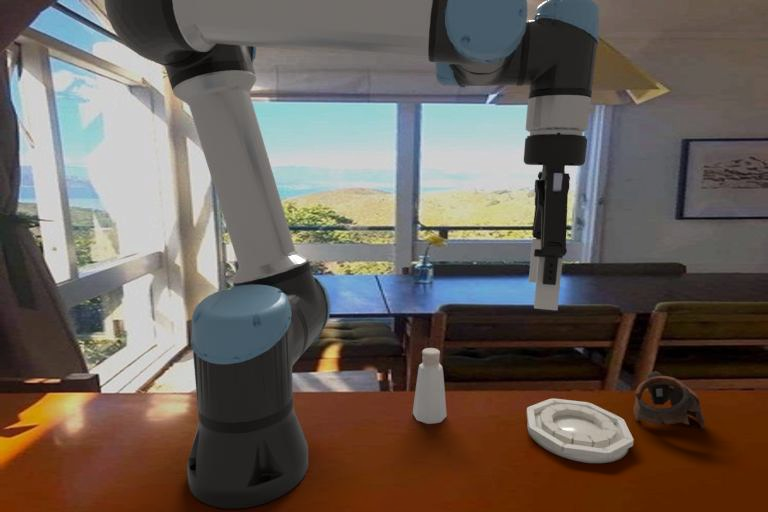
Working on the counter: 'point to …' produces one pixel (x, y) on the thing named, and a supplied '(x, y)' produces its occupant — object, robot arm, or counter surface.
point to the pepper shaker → (430, 389)
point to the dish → (578, 431)
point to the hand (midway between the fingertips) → (541, 294)
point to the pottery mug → (660, 393)
